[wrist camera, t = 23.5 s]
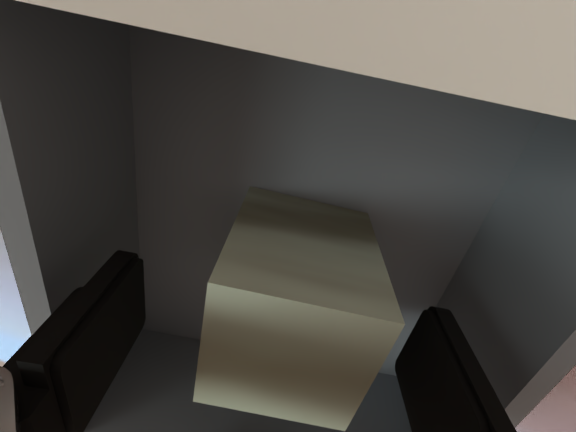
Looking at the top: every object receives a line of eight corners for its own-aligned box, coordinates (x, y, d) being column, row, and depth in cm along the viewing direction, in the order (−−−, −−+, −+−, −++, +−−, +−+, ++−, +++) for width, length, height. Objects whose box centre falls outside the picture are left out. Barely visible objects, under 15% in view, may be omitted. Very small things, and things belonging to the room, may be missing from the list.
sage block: (250, 186, 13) (207, 282, 8) (367, 213, 13) (405, 324, 8) (233, 279, 15) (193, 401, 10) (333, 300, 16) (345, 431, 10)
